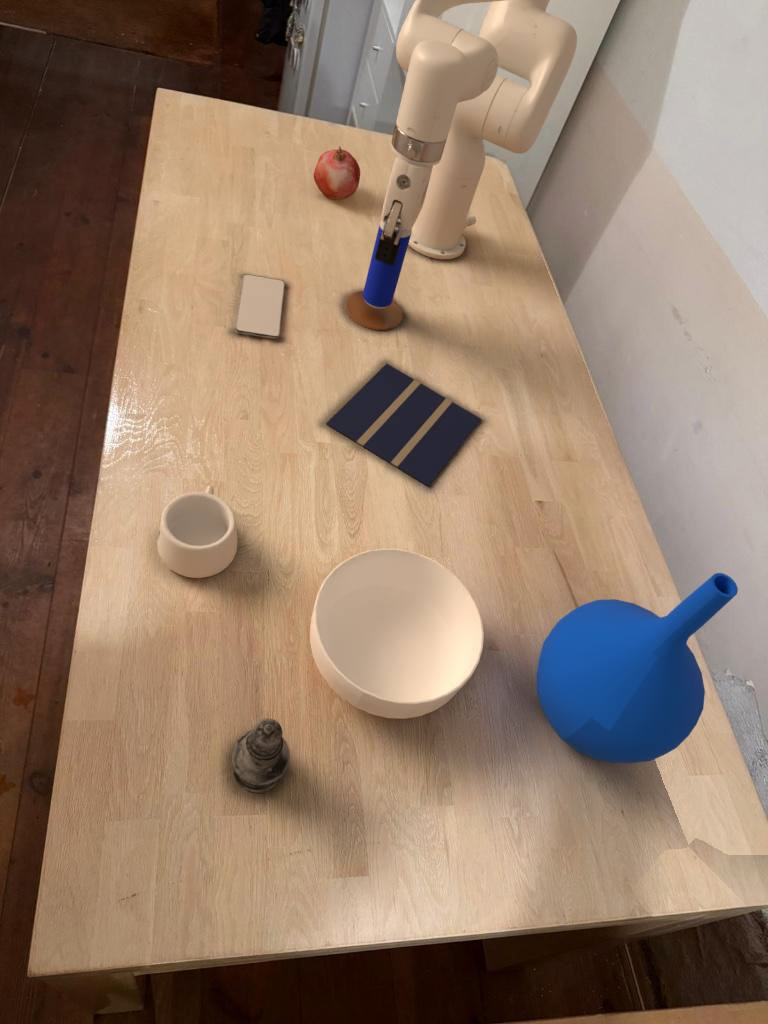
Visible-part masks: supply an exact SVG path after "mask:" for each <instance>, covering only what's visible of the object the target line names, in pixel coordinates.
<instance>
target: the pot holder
mask: <svg viewBox="0 0 768 1024" xmlns="http://www.w3.org/2000/svg"><path fill="white" fill-rule="evenodd" d="M481 421H482V418H481V417H479V416H477V415H476V414H474V413H472V412H471V411H469V410H467V409H465V408H464V407H462V406H460V405H458V404H457V403H455V402H453V401H452V400H450V399H449V398H446V397H445V396H444V395H441V394H440V393H438V392H436V391H435V390H433V389H431V388H429V387H428V386H426V385H424V384H423V383H422V382H420V381H418V380H417V379H414V378H412V377H411V376H409V375H408V374H406V373H404V372H402V371H401V370H399V369H398V368H396V367H394V366H392V365H391V364H389V363H385V365H384V366H383V367H381V368H380V369H379V371H377V372H376V373H375V374H374V375H373V376H372V377H371V378H370V379H369V380H368V381H367V382H366V383H365V384H364V385H363V386H362V387H361V388H360V389H359V390H358V391H357V392H356V393H355V394H354V395H353V396H352V397H351V398H350V399H349V400H348V401H347V402H346V403H345V404H344V405H343V406H342V407H341V408H340V409H339V410H338V411H337V412H336V413H335V414H334V415H333V416H332V417H331V418H330V419H329V420H328V421H327V422H326V423H325V425H326V426H328V427H329V428H331V429H332V430H334V431H336V432H338V433H339V434H341V435H343V436H344V437H346V438H348V439H349V440H351V441H352V442H354V443H355V444H357V445H359V446H360V447H362V448H363V449H365V450H367V451H368V452H370V453H372V454H374V455H375V456H377V457H379V458H380V459H382V460H383V461H385V462H387V463H388V464H390V465H392V466H393V467H395V468H397V469H398V470H400V471H401V472H403V473H404V474H406V475H408V476H410V477H411V478H413V480H416V481H418V482H419V483H421V484H422V485H424V486H426V487H428V488H429V487H430V486H431V484H432V483H433V482H434V480H435V479H436V478H437V477H438V475H439V474H440V473H441V472H442V470H443V469H444V468H445V467H446V465H447V464H448V462H449V461H450V460H451V459H452V458H453V456H455V454H456V453H457V451H458V450H459V449H460V447H461V446H462V445H463V444H464V442H465V441H466V440H467V438H468V437H469V436H470V435H471V433H472V432H473V431H474V430H475V428H477V426H478V424H479V423H480V422H481Z"/></svg>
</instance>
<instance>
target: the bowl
mask: <svg viewBox="0 0 768 1024" xmlns="http://www.w3.org/2000/svg"><path fill="white" fill-rule="evenodd" d="M309 626H310V627H309V644H310V648H311V649H310V650H311V653H312V657H313V660H314V662H315V665H316V667H317V669H318V672H319V673H320V675H321V676H322V678H323V680H324V681H325V682H326V683H327V685H328V686H329V687H330V688H331V689H332V691H334V692H335V693H336V694H337V695H338V696H339V697H340V698H341V699H342V700H344V701H345V702H347V703H348V704H350V705H351V706H352V707H354V708H356V709H358V710H361V711H363V712H365V713H368V714H370V715H373V716H377V717H381V718H386V719H402V720H403V719H404V720H405V719H411V718H412V719H413V718H417V717H422V716H425V715H427V714H430V713H432V712H435V711H437V710H438V709H440V708H441V707H443V706H444V705H445V704H448V702H450V701H451V699H453V697H455V696H456V695H457V694H458V692H459V691H460V690H461V689H462V688H463V687H465V685H466V683H468V681H469V680H470V679H471V677H472V676H473V674H474V672H475V671H476V668H477V667H478V666H479V663H480V660H481V657H482V654H483V651H484V635H485V633H484V627H483V620H482V616H481V614H480V611H479V608H478V605H477V603H476V601H475V600H474V597H473V596H472V594H471V593H470V591H469V590H468V587H466V586H465V584H464V583H463V582H462V581H461V580H460V578H459V577H457V575H455V574H454V573H453V572H451V570H450V569H448V567H446V566H445V565H443V564H441V563H439V562H438V561H436V560H434V559H433V558H430V557H428V556H425V555H423V554H421V553H419V552H414V551H410V550H407V549H402V548H387V547H386V548H376V549H375V548H374V549H369V550H366V551H363V552H359V553H356V554H354V555H351V556H350V557H348V558H346V559H344V560H343V561H341V562H340V563H339V564H338V565H336V566H335V567H334V568H333V569H332V570H331V571H330V572H329V574H328V575H327V576H326V577H325V578H324V580H323V581H322V583H321V586H320V587H319V589H318V591H317V594H316V598H315V601H314V605H313V610H312V614H311V618H310V625H309Z"/></svg>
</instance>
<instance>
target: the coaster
mask: <svg viewBox="0 0 768 1024" xmlns="http://www.w3.org/2000/svg"><path fill="white" fill-rule="evenodd" d="M363 291H364V290H361V291H360V290H359V291H357V292H354V293H352V294H351V295H350V296H349V297H348V298H347V300H346V302H345V310H346V312H347V314H348V316H349V317H350V319H351V320H352V321H354V322H355V323H356V324H358V325H360V326H361V327H364V328H365V329H369V330H374V331H389V330H392V329H395V328H397V327H398V326H399V325H400V324H401V322H402V320H403V310H402V308H401V306H400V304H399V303H398V302H397V301H395V299H393V300H392V303H391V304H390V305H389V306H388V307H386V308H382V309H378V308H374V307H371V306H370V305H368V304H367V303H366V302H365V300H364V298H363Z"/></svg>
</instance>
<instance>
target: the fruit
mask: <svg viewBox="0 0 768 1024" xmlns="http://www.w3.org/2000/svg"><path fill="white" fill-rule="evenodd" d="M313 180H314V183H315V185H316V186H317V188H318V190H319V192H321V194H322V195H323V196H324V197H325V198H327V199H331V200H343V199H347V198H348V199H349V198H350V197H351V196H353V195H354V194H355V193H356V192H357V190H358V188H359V184H360V181H361V168H360V165H359V163H358V161H357V159H356V158H355V157H354V156H353V154H351V153H350V152H349V151H347V150H345V149H342V148H341V145H339V147H338V149H330V150H327V151H325V152H322V154H321V155H320V156H319V157H318V161H317V163H316V165H315V168H314V171H313Z"/></svg>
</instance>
